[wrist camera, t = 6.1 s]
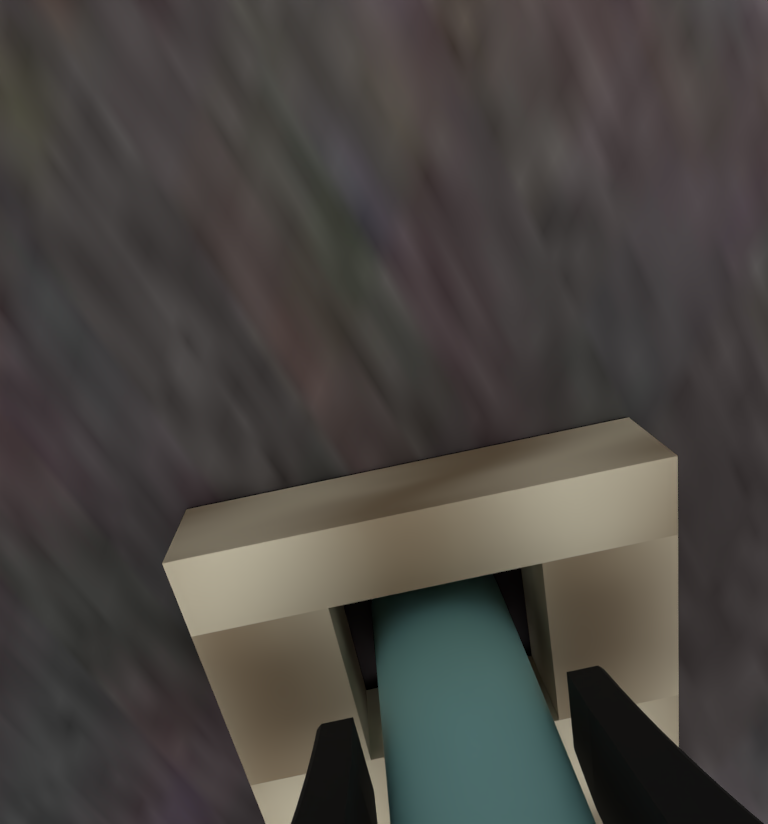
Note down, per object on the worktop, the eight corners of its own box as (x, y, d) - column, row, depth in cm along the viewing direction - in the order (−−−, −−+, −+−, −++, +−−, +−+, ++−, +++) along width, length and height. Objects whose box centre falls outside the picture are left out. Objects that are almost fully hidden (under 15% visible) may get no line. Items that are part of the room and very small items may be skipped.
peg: (508, 637, 15) (678, 1077, 8) (387, 667, 15) (440, 1132, 8) (488, 535, 14) (665, 936, 7) (357, 568, 14) (384, 1004, 7)
